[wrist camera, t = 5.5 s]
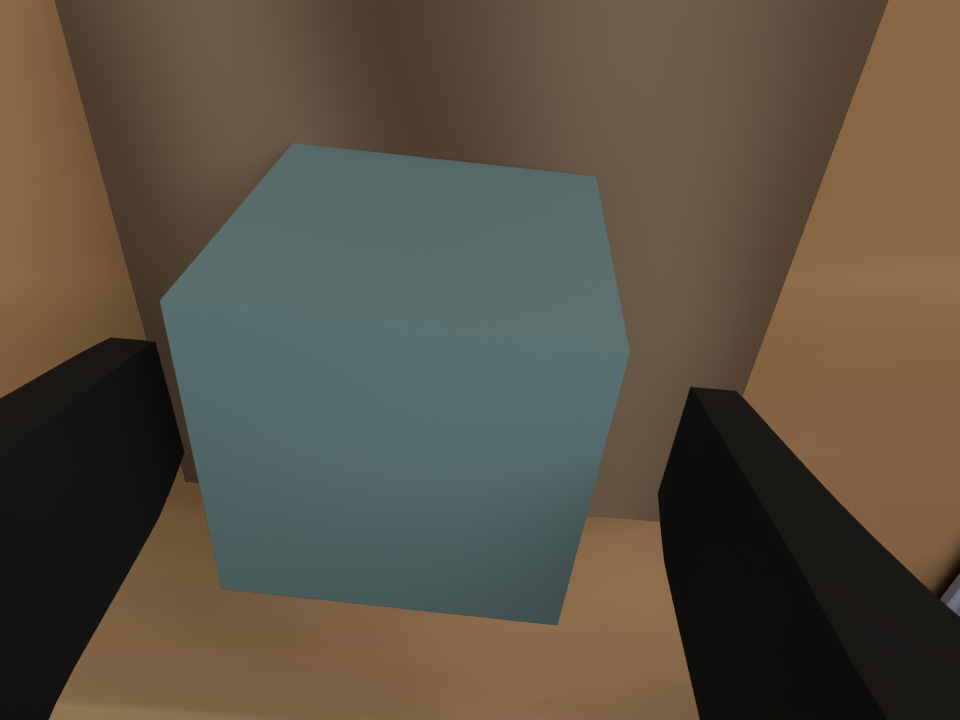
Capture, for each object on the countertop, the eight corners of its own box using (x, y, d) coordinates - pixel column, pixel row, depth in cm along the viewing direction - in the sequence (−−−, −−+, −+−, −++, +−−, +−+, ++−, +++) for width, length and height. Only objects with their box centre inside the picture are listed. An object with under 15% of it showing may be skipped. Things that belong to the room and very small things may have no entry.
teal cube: (595, 175, 11) (630, 352, 7) (550, 408, 14) (557, 625, 10) (292, 143, 11) (160, 300, 7) (309, 382, 14) (221, 588, 10)
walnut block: (816, -98, 12) (917, -81, 9) (667, 413, 19) (695, 524, 16) (146, -150, 12) (13, -150, 9) (241, 378, 20) (185, 481, 16)
